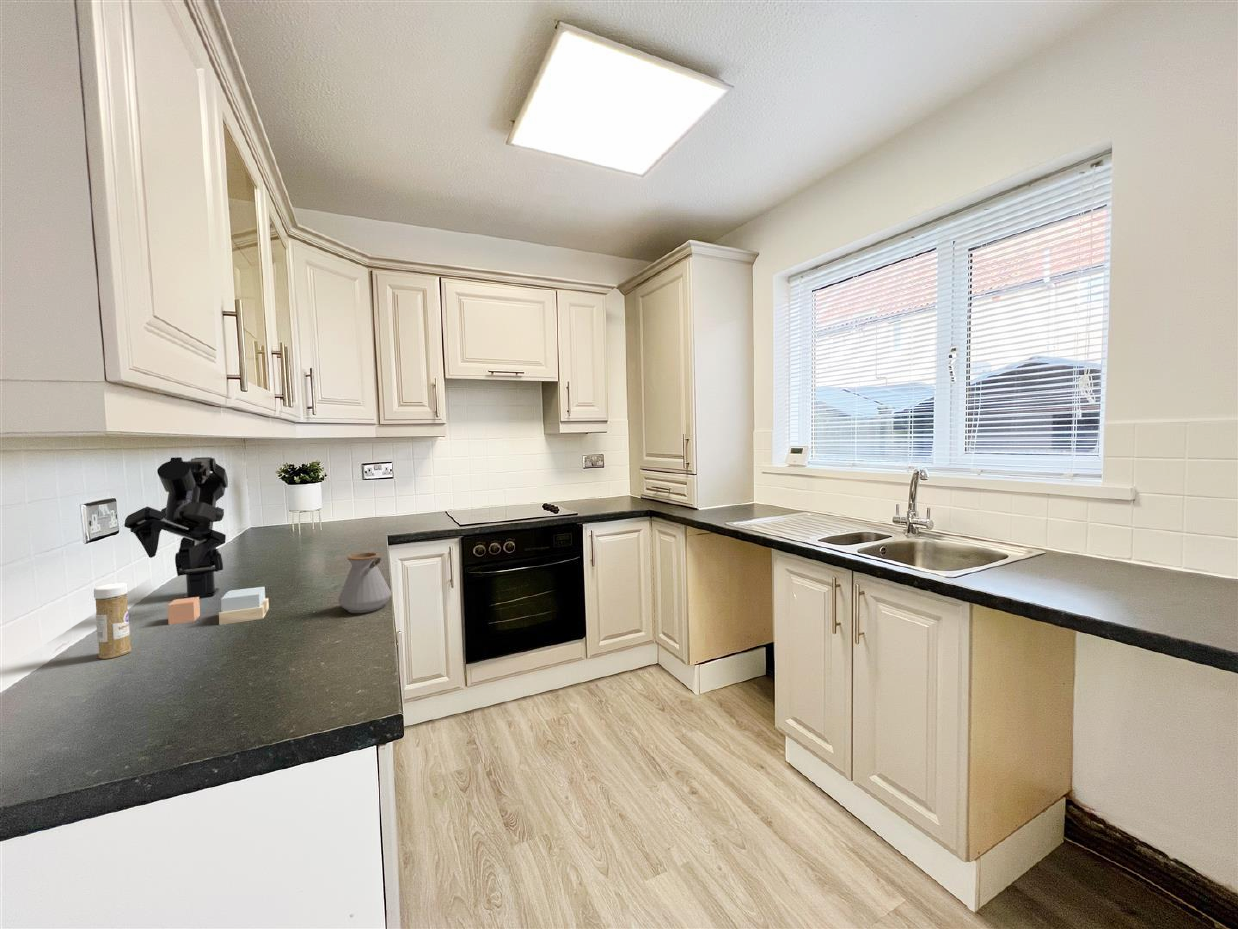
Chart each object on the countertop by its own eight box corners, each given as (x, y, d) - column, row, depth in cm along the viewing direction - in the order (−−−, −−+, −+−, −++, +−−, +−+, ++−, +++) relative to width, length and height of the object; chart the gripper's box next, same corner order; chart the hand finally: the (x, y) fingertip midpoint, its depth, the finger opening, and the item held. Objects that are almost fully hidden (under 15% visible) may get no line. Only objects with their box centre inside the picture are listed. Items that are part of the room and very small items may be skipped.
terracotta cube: (175, 618, 116) (174, 599, 116) (200, 615, 118) (199, 596, 118) (168, 625, 112) (167, 605, 112) (194, 621, 114) (193, 602, 114)
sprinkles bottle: (131, 654, 96) (127, 585, 96) (97, 662, 93) (92, 590, 92) (131, 647, 100) (127, 580, 99) (98, 654, 96) (94, 585, 96)
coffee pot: (334, 607, 123) (332, 546, 122) (384, 597, 130) (382, 540, 129) (352, 632, 106) (350, 562, 105) (409, 620, 113) (407, 554, 112)
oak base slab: (228, 615, 119) (227, 603, 119) (269, 610, 122) (268, 597, 122) (219, 626, 112) (218, 613, 111) (263, 620, 115) (262, 607, 115)
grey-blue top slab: (229, 603, 118) (228, 590, 118) (265, 598, 122) (264, 586, 121) (221, 612, 112) (220, 599, 112) (259, 607, 115) (259, 594, 115)
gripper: (171, 473, 112) (161, 534, 104) (246, 505, 128) (242, 560, 120) (128, 494, 112) (115, 556, 104) (209, 523, 128) (202, 579, 120)
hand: (173, 562), depth 112 cm, fingers open, 9 cm apart
